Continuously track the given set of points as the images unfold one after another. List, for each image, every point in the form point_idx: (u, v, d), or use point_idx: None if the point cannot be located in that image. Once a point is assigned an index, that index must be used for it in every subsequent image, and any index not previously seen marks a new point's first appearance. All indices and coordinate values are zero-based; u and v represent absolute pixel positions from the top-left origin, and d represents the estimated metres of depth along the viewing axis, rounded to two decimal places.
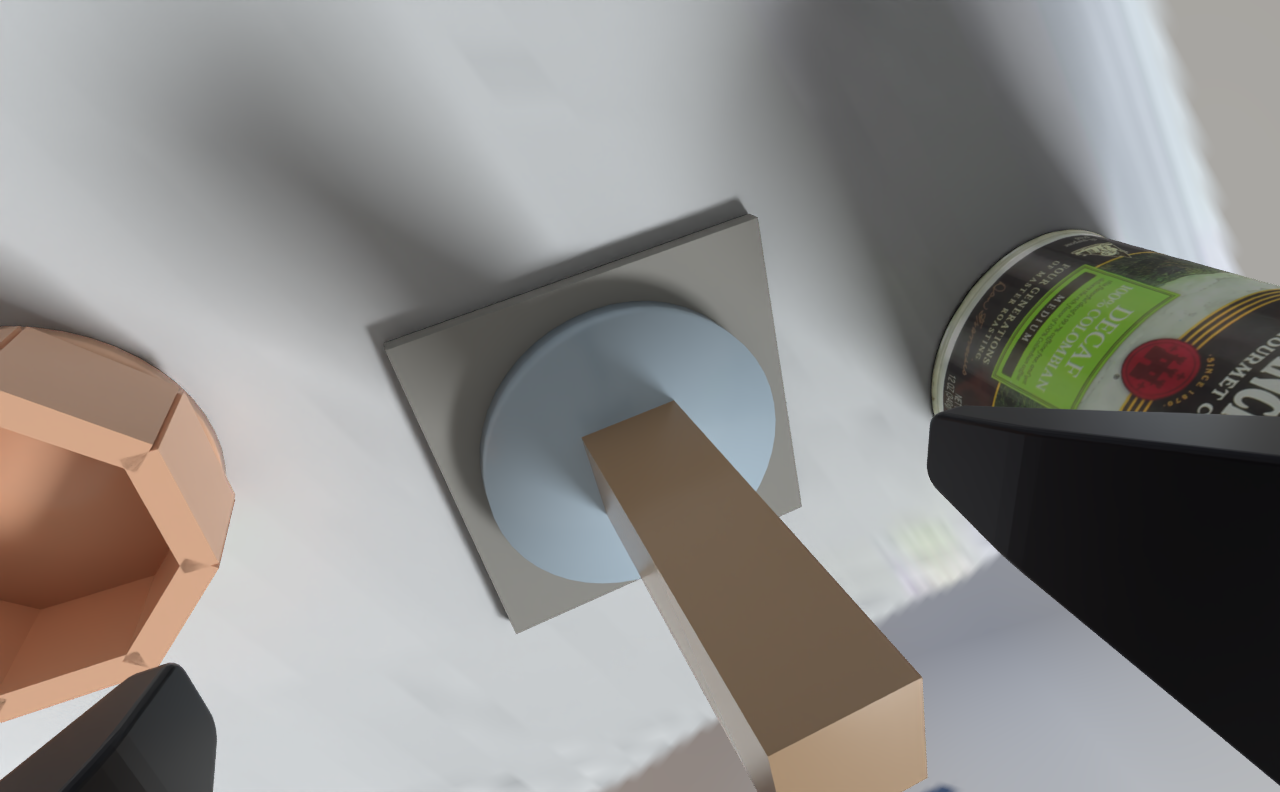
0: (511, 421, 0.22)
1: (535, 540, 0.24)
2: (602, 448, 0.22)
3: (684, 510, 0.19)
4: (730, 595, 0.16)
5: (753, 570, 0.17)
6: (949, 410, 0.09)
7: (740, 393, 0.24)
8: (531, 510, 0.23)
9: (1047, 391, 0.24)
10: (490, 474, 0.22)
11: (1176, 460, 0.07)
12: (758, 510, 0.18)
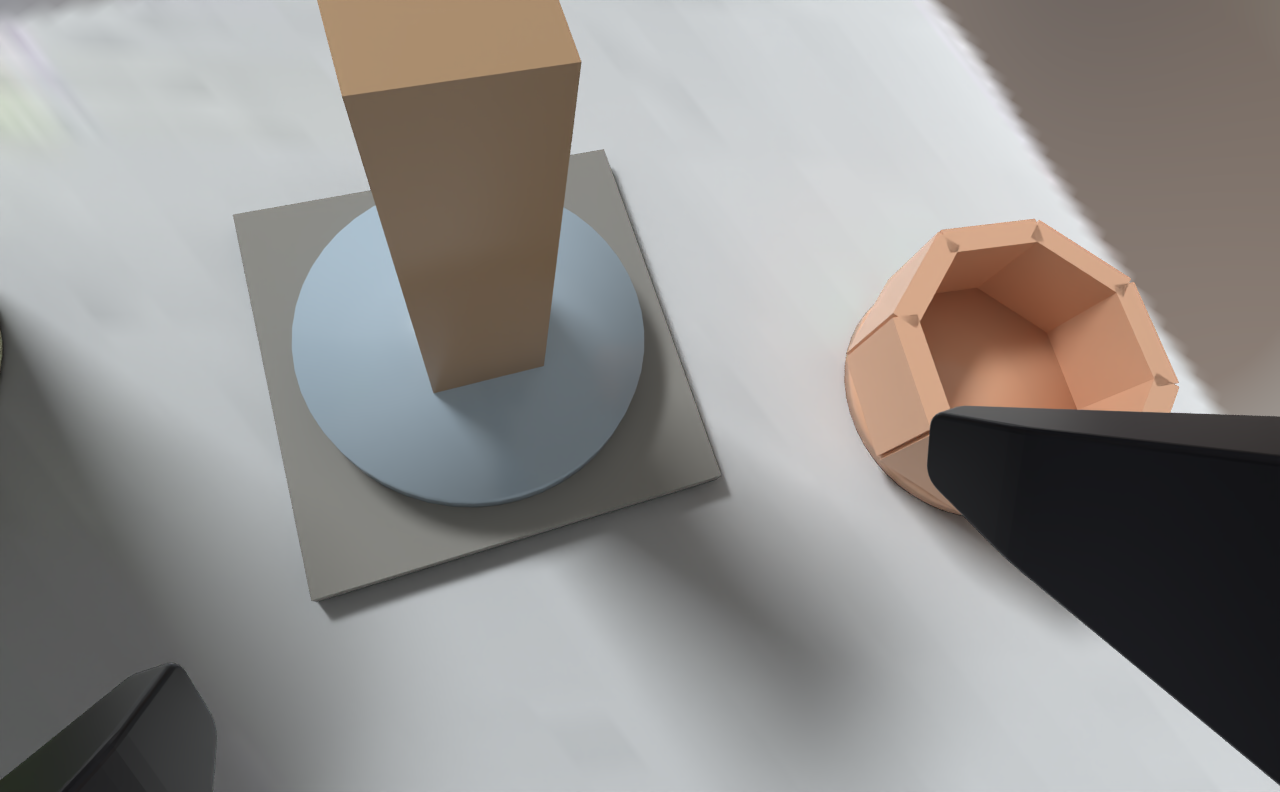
0: (617, 395, 0.22)
1: (593, 258, 0.23)
2: (532, 356, 0.20)
3: (494, 299, 0.16)
4: (506, 218, 0.13)
5: (465, 238, 0.14)
6: (949, 410, 0.09)
7: (344, 390, 0.20)
8: (598, 293, 0.22)
9: None
10: (639, 341, 0.22)
11: (1175, 461, 0.07)
12: (417, 292, 0.15)
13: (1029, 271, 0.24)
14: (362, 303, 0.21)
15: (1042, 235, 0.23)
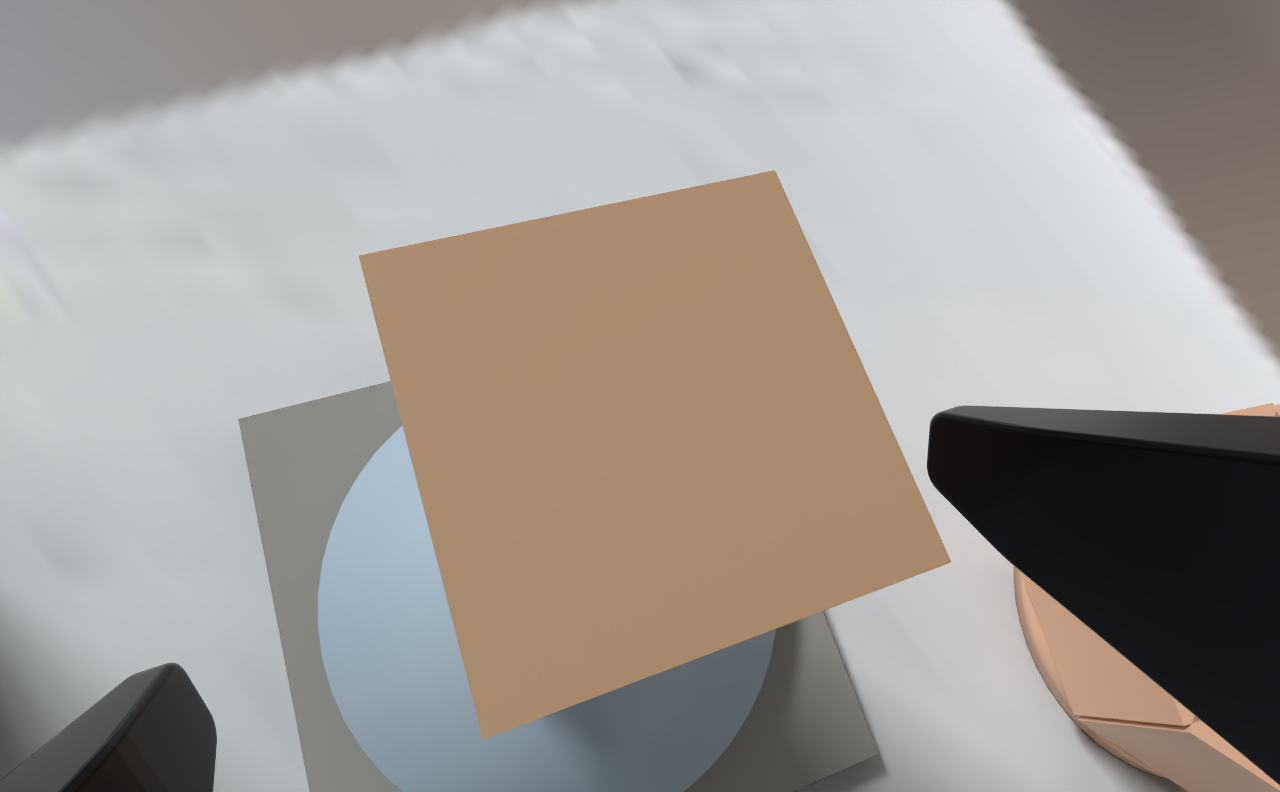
0: (748, 664, 0.16)
1: None
2: None
3: None
4: None
5: None
6: (949, 410, 0.09)
7: (389, 683, 0.15)
8: None
9: None
10: None
11: (1176, 461, 0.07)
12: None
13: None
14: (411, 552, 0.16)
15: None
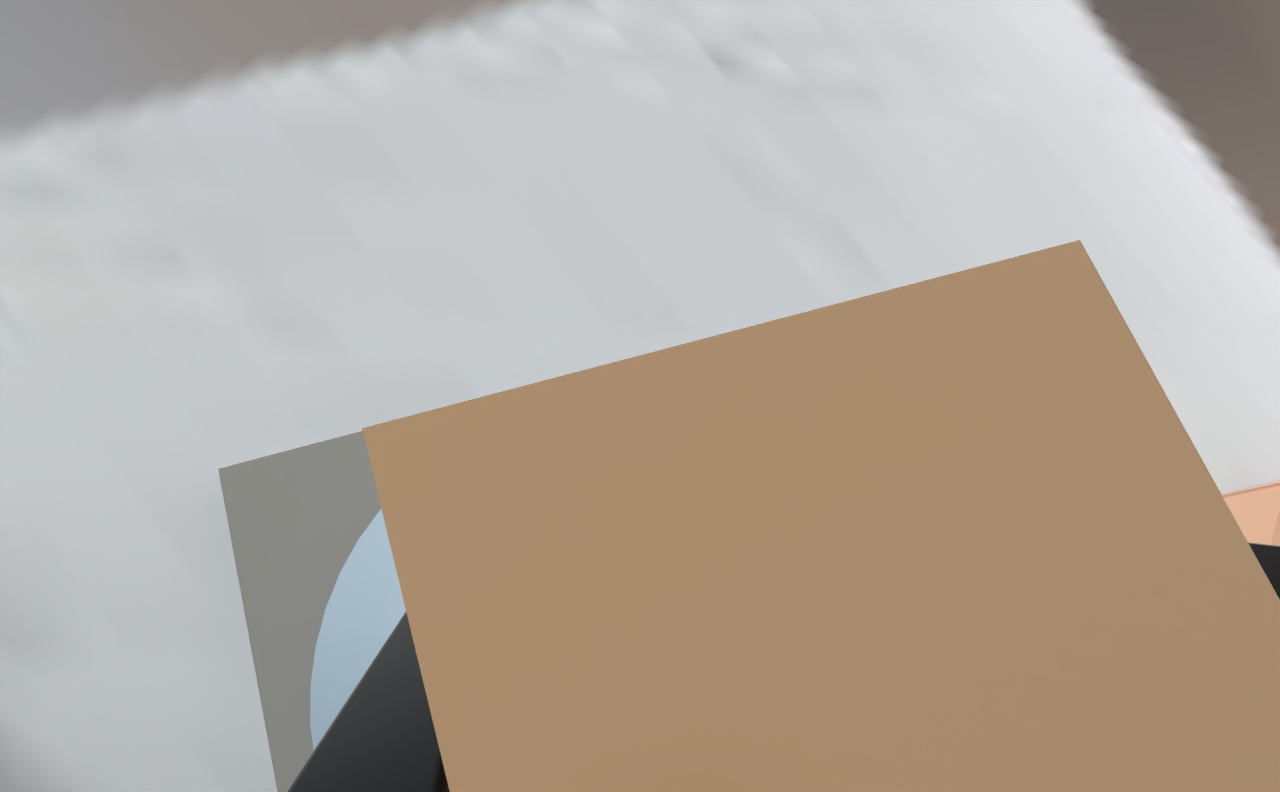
0: None
1: None
2: None
3: None
4: None
5: None
6: None
7: None
8: None
9: None
10: None
11: None
12: None
13: None
14: None
15: None
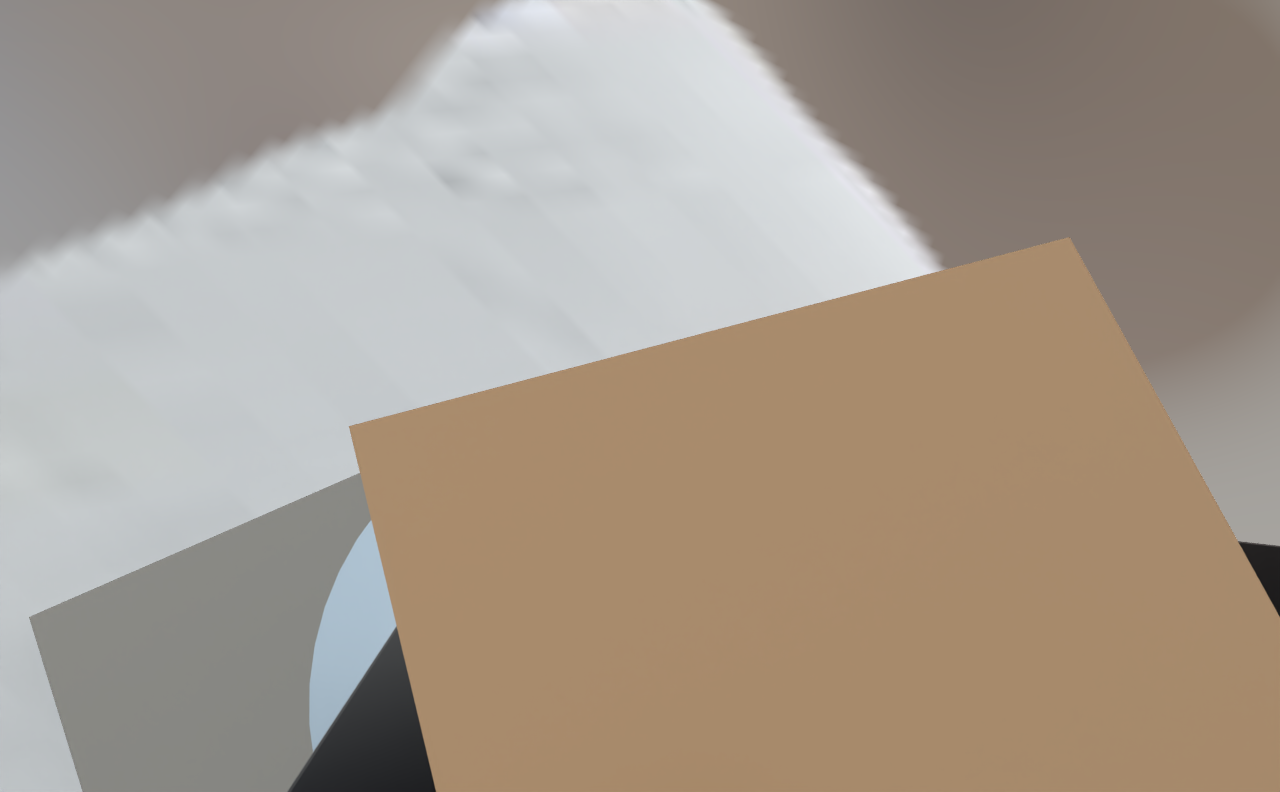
0: None
1: None
2: None
3: None
4: None
5: None
6: None
7: None
8: None
9: None
10: None
11: None
12: None
13: None
14: None
15: None
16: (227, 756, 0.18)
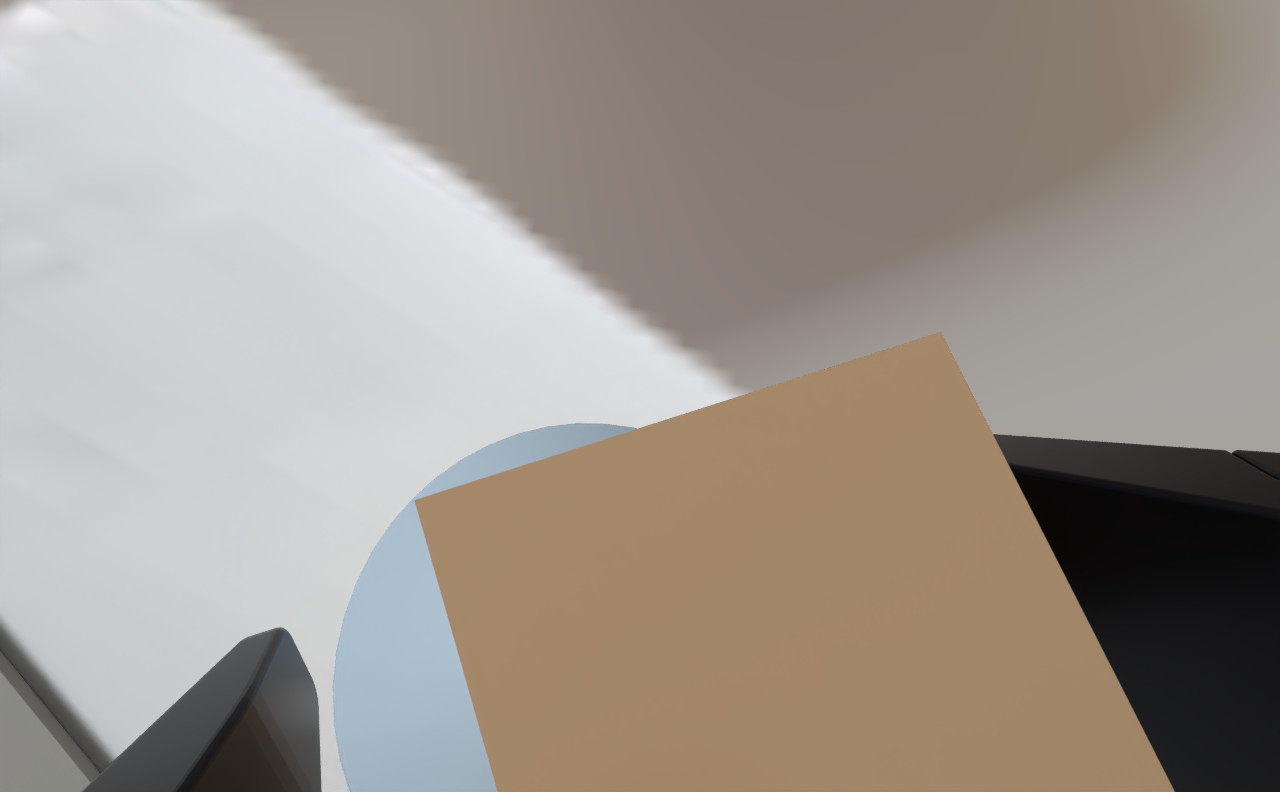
0: None
1: None
2: None
3: None
4: None
5: None
6: None
7: (413, 784, 0.14)
8: None
9: None
10: None
11: (1086, 494, 0.06)
12: None
13: None
14: (432, 635, 0.15)
15: None
16: None
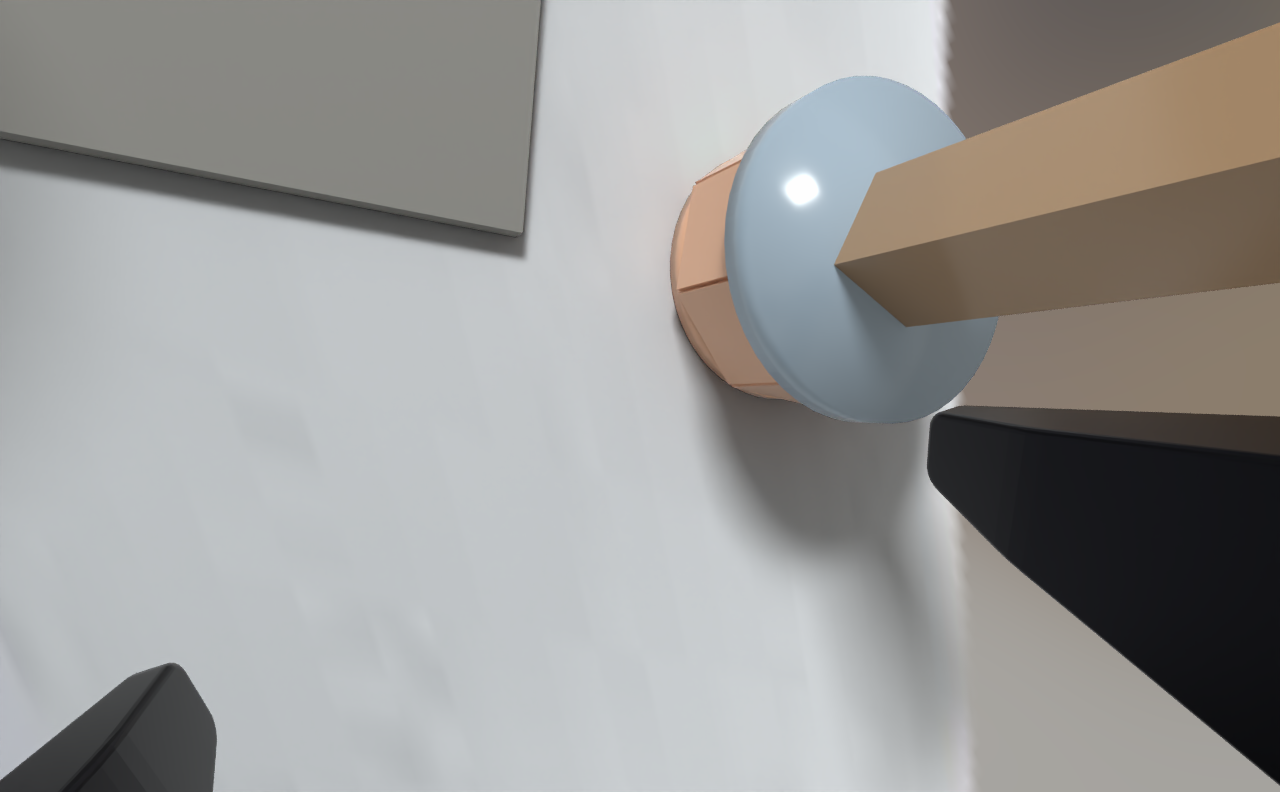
0: (927, 400, 0.22)
1: None
2: (926, 316, 0.20)
3: (1048, 273, 0.16)
4: (1220, 254, 0.14)
5: (1178, 234, 0.14)
6: (950, 410, 0.09)
7: (787, 193, 0.20)
8: None
9: None
10: (966, 378, 0.23)
11: (1175, 460, 0.07)
12: (1057, 220, 0.15)
13: None
14: (846, 146, 0.21)
15: None
16: None
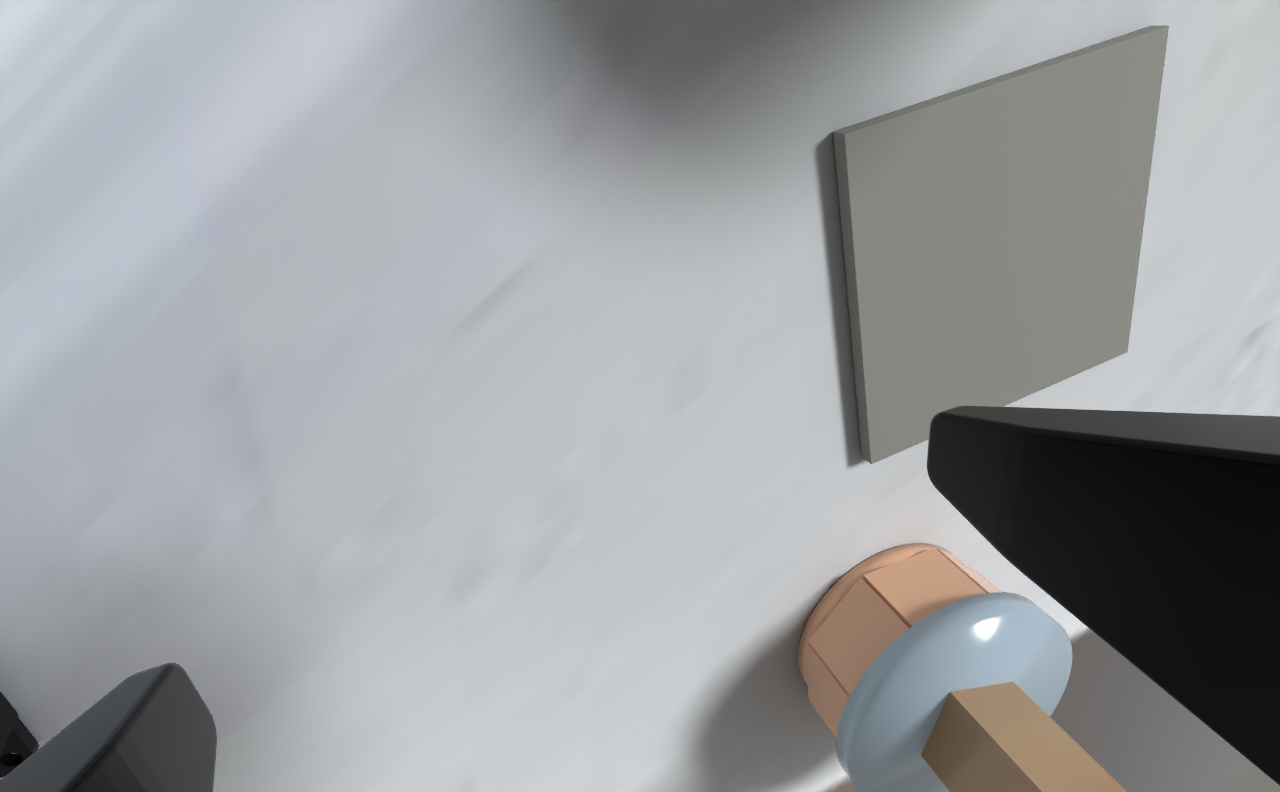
0: None
1: None
2: (942, 770, 0.27)
3: None
4: None
5: None
6: (949, 409, 0.09)
7: (986, 640, 0.26)
8: (937, 788, 0.30)
9: None
10: None
11: (1175, 461, 0.07)
12: None
13: None
14: (1024, 656, 0.28)
15: None
16: (1029, 170, 0.24)
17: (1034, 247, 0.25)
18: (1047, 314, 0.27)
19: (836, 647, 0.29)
